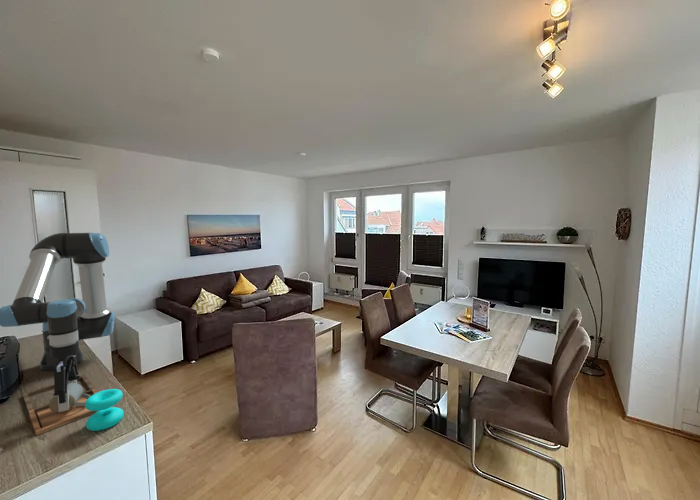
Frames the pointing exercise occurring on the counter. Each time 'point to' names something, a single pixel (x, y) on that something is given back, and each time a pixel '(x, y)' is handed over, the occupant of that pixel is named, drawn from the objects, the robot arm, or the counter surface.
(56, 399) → the ceramic mug
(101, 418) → the donuts
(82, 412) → the tray
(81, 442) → the counter surface
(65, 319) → the robot arm
